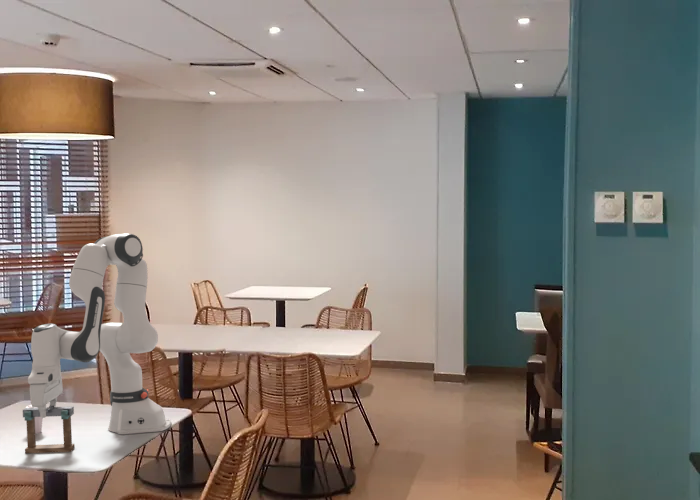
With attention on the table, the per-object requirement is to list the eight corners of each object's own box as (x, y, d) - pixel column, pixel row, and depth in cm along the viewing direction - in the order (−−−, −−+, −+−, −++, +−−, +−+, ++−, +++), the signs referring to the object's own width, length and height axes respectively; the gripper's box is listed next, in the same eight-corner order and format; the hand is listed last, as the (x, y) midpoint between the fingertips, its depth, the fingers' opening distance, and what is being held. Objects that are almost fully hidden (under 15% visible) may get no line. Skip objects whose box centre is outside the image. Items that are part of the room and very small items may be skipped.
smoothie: (29, 430, 280) (28, 392, 279) (47, 429, 280) (46, 391, 280) (24, 435, 274) (22, 396, 273) (42, 434, 274) (40, 396, 273)
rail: (73, 413, 256) (73, 406, 256) (71, 415, 253) (71, 408, 253) (25, 415, 255) (25, 408, 255) (22, 417, 252) (22, 409, 252)
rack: (75, 447, 257) (73, 407, 257) (70, 452, 253) (68, 410, 252) (30, 449, 257) (28, 408, 256) (24, 453, 252) (22, 412, 251)
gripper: (48, 367, 264) (49, 406, 264) (25, 379, 243) (27, 422, 244) (66, 366, 264) (67, 405, 264) (45, 379, 243) (47, 421, 244)
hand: (48, 413), depth 254 cm, fingers open, 7 cm apart
